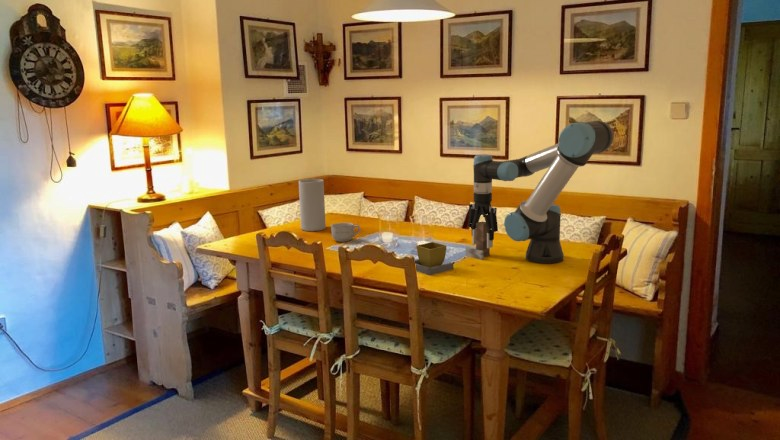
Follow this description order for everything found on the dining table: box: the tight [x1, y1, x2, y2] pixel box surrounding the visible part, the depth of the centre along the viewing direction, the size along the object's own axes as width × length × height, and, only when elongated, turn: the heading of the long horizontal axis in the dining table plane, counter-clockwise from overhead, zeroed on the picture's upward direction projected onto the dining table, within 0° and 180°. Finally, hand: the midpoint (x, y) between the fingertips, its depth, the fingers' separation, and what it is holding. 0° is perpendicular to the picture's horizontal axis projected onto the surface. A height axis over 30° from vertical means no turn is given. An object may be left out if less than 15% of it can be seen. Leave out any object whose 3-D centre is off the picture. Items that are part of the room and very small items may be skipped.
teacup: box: [330, 222, 362, 243], centre depth 302 cm, size 14×11×8 cm
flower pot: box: [416, 241, 448, 268], centre depth 254 cm, size 9×9×9 cm
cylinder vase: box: [298, 178, 327, 232], centre depth 327 cm, size 12×12×25 cm
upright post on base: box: [465, 221, 491, 261], centre depth 268 cm, size 9×8×14 cm
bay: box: [414, 258, 454, 276], centre depth 253 cm, size 14×12×2 cm
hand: (482, 245), depth 270 cm, fingers open, 8 cm apart
